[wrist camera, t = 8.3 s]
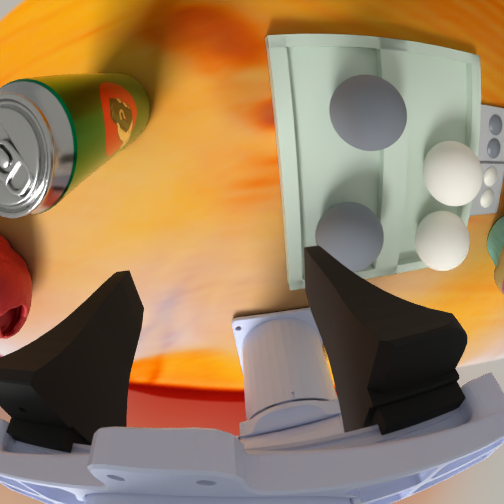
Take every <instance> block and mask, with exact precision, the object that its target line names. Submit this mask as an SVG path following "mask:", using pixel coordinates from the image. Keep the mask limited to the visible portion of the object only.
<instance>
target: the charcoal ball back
mask: <svg viewBox="0 0 504 504" xmlns="http://www.w3.org/2000/svg"><path fill="white" fill-rule="evenodd" d="M315 239H316V246H317V245H319V246H320V247H322V248H323V249H324V250H325V251H327V252H328V253H329V254H330V255H331V256H333V257H334V258H335V259H336V260H338V261H339V262H340V263H341V264H343V265H344V266H345V267H347V268H348V269H349V270H351V271H352V272H356V271H360V270H362V269H365V268H366V267H368V266H370V265H371V264H372V263H373V262H374V261H375V260H376V259H377V257H378V256H379V254H380V252H381V250H382V247H383V242H384V233H383V228H382V225H381V222H380V220H379V218H378V217H377V216H376V214H375V213H374V212H373V211H372V210H371V209H369V208H368V207H366V206H364V205H362V204H360V203H355V202H343V203H339V204H337V205H334V206H332V207H331V208H329V209H328V210H327V211H326V212H325V213H324V214H323V215H322V217H321V218H320V220H319V222H318V225H317V228H316V233H315Z"/></svg>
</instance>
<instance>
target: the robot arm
mask: <svg viewBox="0 0 504 504" xmlns="http://www.w3.org/2000/svg"><path fill="white" fill-rule="evenodd" d="M304 264H305V290H306V294H307V298H308V302H309V306H310V307H309V308H302V309H296V310H289V311H282V312H275V313H268V314H260V315H253V316H245V317H237V318H234V319H233V320H232V328H233V332H234V337H235V341H236V346H237V350H238V355H239V359H240V363H241V368H242V372H243V376H244V390H245V404H246V418H247V421H245V422H241V423H240V435H239V436H233V435H232V434H231V433H227V432H224V431H221V430H217V429H211V428H196V427H195V428H136V427H126V414H127V396H128V386H129V378H130V372H131V368H132V364H133V360H134V356H135V352H136V348H137V344H138V340H139V336H140V332H141V328H142V320H143V311H144V307H143V305H142V302H141V300H140V297H139V295H138V292H137V290H136V287H135V284H134V282H133V279H132V276H131V274H130V271H121V272H116V273H115V274H113V275H112V276H111V277H110V278H109V279H108V280H107V281H105V282H104V283H103V284H102V285H101V286H100V287H99V288H98V289H97V290H96V291H95V292H94V293H93V294H92V295H91V296H90V297H89V298H88V299H87V300H86V301H85V302H84V303H82V304H81V305H80V306H79V307H78V308H77V309H76V310H75V311H74V312H73V313H72V314H70V315H69V316H68V317H67V318H66V319H64V320H63V321H62V322H61V323H59V324H58V325H57V326H55V327H54V328H53V329H51V330H50V331H48V332H47V333H45V334H44V335H42V336H41V337H39V338H38V339H36V340H35V341H33V342H31V343H30V344H28V345H26V346H24V347H22V348H21V349H19V350H17V351H15V352H13V353H10V354H8V355H6V356H3V357H1V358H0V406H1V407H2V408H3V409H4V410H5V411H6V412H7V413H8V414H9V415H10V416H11V417H12V418H11V420H10V423H8V422H7V421H5V420H3V419H0V483H1V484H2V485H4V486H6V487H7V488H9V489H11V490H14V491H16V492H18V493H21V494H23V495H26V496H28V497H31V498H33V499H36V500H38V501H41V502H44V503H46V504H391V503H393V502H396V501H399V500H401V499H404V498H406V497H409V496H411V495H413V494H416V493H418V492H420V491H423V490H425V489H427V488H429V487H431V486H433V485H435V484H437V483H440V482H442V481H444V480H446V479H448V478H450V477H452V476H454V475H456V474H458V473H460V472H462V471H464V470H466V469H467V468H469V467H471V466H473V465H475V464H477V463H479V462H480V461H482V460H484V459H486V458H487V457H489V456H490V455H491V454H492V453H493V452H494V451H495V450H496V449H497V448H499V447H500V446H501V445H502V444H503V443H504V393H503V391H502V389H501V388H500V386H499V384H498V383H497V381H496V379H495V378H494V376H493V374H492V373H488V374H485V375H483V376H481V377H478V378H476V379H474V380H471V381H469V382H468V383H466V384H465V385H463V386H462V387H461V388H460V387H459V385H458V383H457V380H458V379H459V374H458V373H457V371H456V369H455V368H456V366H457V364H458V362H459V360H460V358H461V356H462V354H463V352H464V350H465V347H466V345H467V334H466V332H465V330H464V329H463V328H462V326H461V325H460V323H459V322H458V321H457V319H456V318H455V316H454V315H453V314H452V313H447V312H443V311H439V310H434V309H430V308H427V307H423V306H420V305H417V304H414V303H411V302H409V301H406V300H403V299H401V298H399V297H396V296H394V295H392V294H390V293H388V292H385V291H383V290H382V289H380V288H378V287H376V286H374V285H372V284H371V283H369V282H367V281H366V280H364V279H363V278H361V277H360V276H358V275H357V274H355V273H354V272H352V271H351V270H349V269H348V268H347V267H345V266H344V265H343V264H341V263H340V262H339V261H338V260H336V259H335V258H334V257H333V256H331V255H330V254H329V253H328V252H327V251H325V250H324V249H323V248H322V247H320V246H319V245H317V246H310V247H304ZM238 326H240V327H239V328H238ZM323 343H324V346H325V349H326V352H327V355H328V358H329V361H330V365H331V369H332V373H333V378H334V382H335V386H336V391H337V395H338V399H337V396H336V392H335V389H334V386H333V382H332V379H331V375H330V372H329V369H328V365H327V362H326V359H325V355H324V352H323V349H322V344H323Z"/></svg>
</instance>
